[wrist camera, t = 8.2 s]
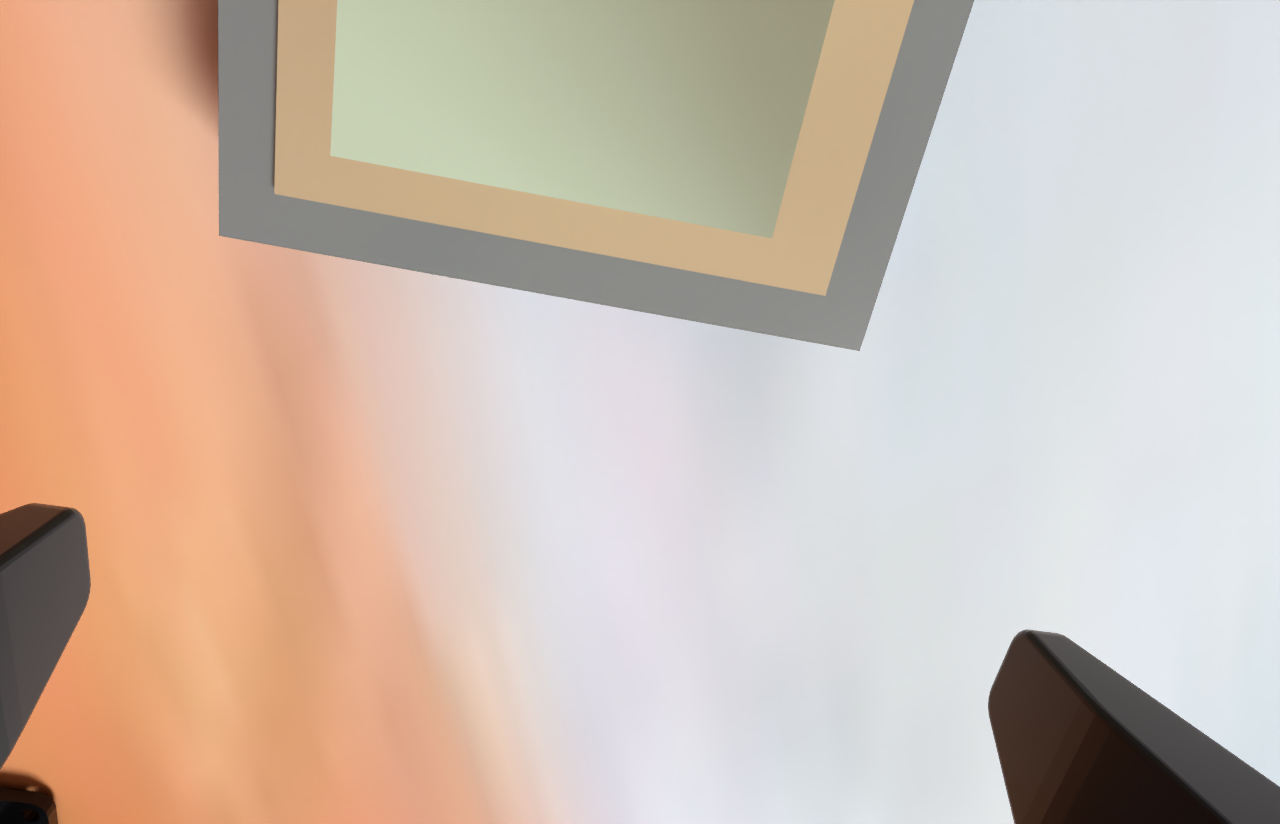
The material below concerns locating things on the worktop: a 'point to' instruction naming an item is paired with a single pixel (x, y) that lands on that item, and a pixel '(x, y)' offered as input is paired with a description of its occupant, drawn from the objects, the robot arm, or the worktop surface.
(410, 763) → the worktop surface
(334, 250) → the slate base
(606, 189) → the cream block
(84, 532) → the robot arm
